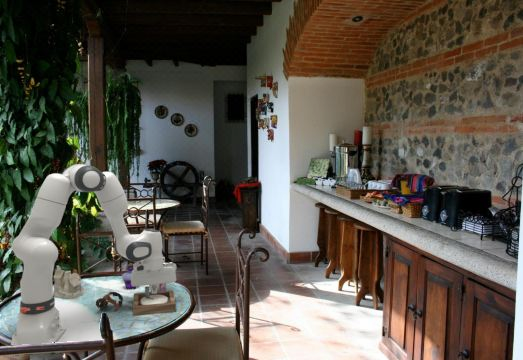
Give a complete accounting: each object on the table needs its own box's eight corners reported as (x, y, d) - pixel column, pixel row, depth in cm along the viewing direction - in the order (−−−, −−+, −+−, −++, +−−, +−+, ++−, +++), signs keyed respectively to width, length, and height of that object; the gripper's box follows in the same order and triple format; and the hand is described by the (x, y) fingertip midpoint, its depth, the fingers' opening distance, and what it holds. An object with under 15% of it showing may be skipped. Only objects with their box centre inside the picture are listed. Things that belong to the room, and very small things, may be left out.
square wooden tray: (175, 311, 199) (175, 303, 199) (133, 315, 195) (132, 307, 194) (173, 297, 216) (173, 289, 216) (134, 300, 212) (134, 292, 212)
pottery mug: (110, 303, 210) (118, 289, 208) (120, 317, 205) (128, 302, 203) (88, 305, 200) (96, 290, 199) (97, 319, 195) (106, 304, 193)
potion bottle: (132, 291, 224) (131, 267, 223) (118, 288, 228) (117, 265, 227) (143, 286, 232) (142, 263, 231) (130, 283, 236) (129, 261, 234)
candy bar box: (156, 288, 228) (155, 256, 226) (166, 288, 228) (165, 256, 226) (150, 297, 217) (149, 263, 215) (160, 297, 217) (159, 263, 215)
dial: (173, 301, 207) (173, 287, 207) (154, 310, 197) (153, 295, 197) (154, 296, 214) (153, 282, 213) (134, 305, 204) (134, 290, 203)
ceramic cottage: (68, 300, 212) (67, 268, 211) (46, 295, 220) (45, 265, 219) (95, 292, 225) (95, 262, 225) (74, 288, 233) (73, 259, 233)
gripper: (175, 259, 213) (176, 288, 215) (130, 264, 207) (131, 293, 209) (177, 263, 207) (177, 293, 209) (130, 268, 201) (131, 298, 203)
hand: (154, 293), depth 209 cm, fingers closed
